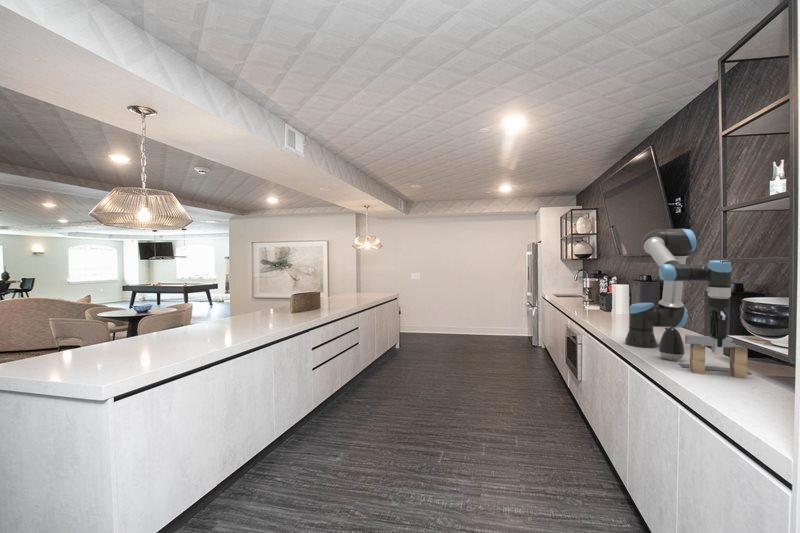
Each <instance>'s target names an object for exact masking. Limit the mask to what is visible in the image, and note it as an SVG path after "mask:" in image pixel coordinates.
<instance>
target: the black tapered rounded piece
mask: <svg viewBox="0 0 800 533" xmlns="http://www.w3.org/2000/svg"><path fill="white" fill-rule="evenodd" d="M664 329H665V330H664V332H663V333H662V336H661V338H660V341H659V346H658V352H659V355H660V356H661V357H662V358H663V359H665V360H666V361H671V362H673V361H674V362H678V361H680V360H682V358H684V355H685V352H686V351H685V350H686V349H685V344H684V339H683V338H682V335H681V332H680V331H679V330H678V329H677V328H670V327H664Z"/></svg>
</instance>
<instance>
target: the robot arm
mask: <svg viewBox="0 0 800 533" xmlns="http://www.w3.org/2000/svg"><path fill="white" fill-rule="evenodd" d="M641 242H642V243H641V247H642V248H643V250H644V252H645V253H647V254H649V255H650V256H651V257H652V259H653V260H654V261H655V263H656V264H657V266H658V267H659V268H658V277H659V279H660V280H661V281H663V286H662V288H663V289H662V295H661V296H662V298H661V299H660V300H659V301H658V304H657V305H655V303H654V302H638V303H632V304H630V306H629V311H628V314H629V315H628V316H629V318H628V319H629V321H628V322H629V323H628V332H627V334H626V336H625V340H624V342H625V343H626V344H625V343H624V344H625V345H627V344H628V346H631V345H632V346H633V347H638V348H657V346H658V343H657V339H656V336H655V332H654V328H675V329H677V328H678V329H679V328H683V327H684V326H685V325H686V324H687V321H688V317H689V313H688V311H689V310H688V309H687V307H685V304H684V303H683V302H682V296H683V288H684V287H683V286H684V282H697V283H698V282H699V283H700V282H703V283H704V282H705V283H706V282H707V288H706V292H707V296H708V297H707V302H706V303H707V307H710V308H712V310H710V311H709V319H710V320H709V330H710V331H709V334H710V336H714V339H715V346H711V353H714V355H719V356H724V347H723V342H724V339H726V337H727V324H728V317H729V316H728V314H727V313H726V311H725V309H728V308H731V297H732V285H731V284H732V271H733V268H732V262H731V261H730V262H723V263H722V261H723V260H718V259H717V260H714V259H713V260H709V261H708V263H707V264H686V261H687V258H689V257H690V256H691V253H692V252H695V250H696V248H697V238H696V234H695V233H694V231H693V230H692V229H689V228H688V229H687V228H665V229H664V228H663V229H662V228H661V229H660V228H659V229H657V228H656V229H654V230H651V231H650V232H648V233H647V234H645V236H644V237H643V239H642V240H641ZM720 261H721V262H720ZM720 287H722V288H720ZM632 346H631V347H632Z"/></svg>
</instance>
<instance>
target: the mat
mask: <svg viewBox="0 0 800 533" xmlns="http://www.w3.org/2000/svg"><path fill="white" fill-rule="evenodd" d="M678 365H679V366H680V367H681V368H682V369H687V370H688V369H689V365H690V363H680V362H679V363H678ZM705 371H711V372H720V373H721V372H723V373H729V371H730V367H724V366H723V367H722V366H721V367H720V366H711V365H705ZM747 375H753V373H752V372H750V371H749V370H747Z"/></svg>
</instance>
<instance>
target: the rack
mask: <svg viewBox="0 0 800 533" xmlns="http://www.w3.org/2000/svg"><path fill="white" fill-rule="evenodd" d="M748 352H749V351H748V349H746V348H733V347H729V368H730V371H729V372H728V373H729V374H730V375H732V376H733V377H734V378H744V379H747V378H748V374H747V371H748ZM689 364H690V365H689V371H691V373H693V374H701V375H702V374H703V375H705V374H706V373H705V372H706V370H705V366H706V345H693V344H689Z"/></svg>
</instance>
